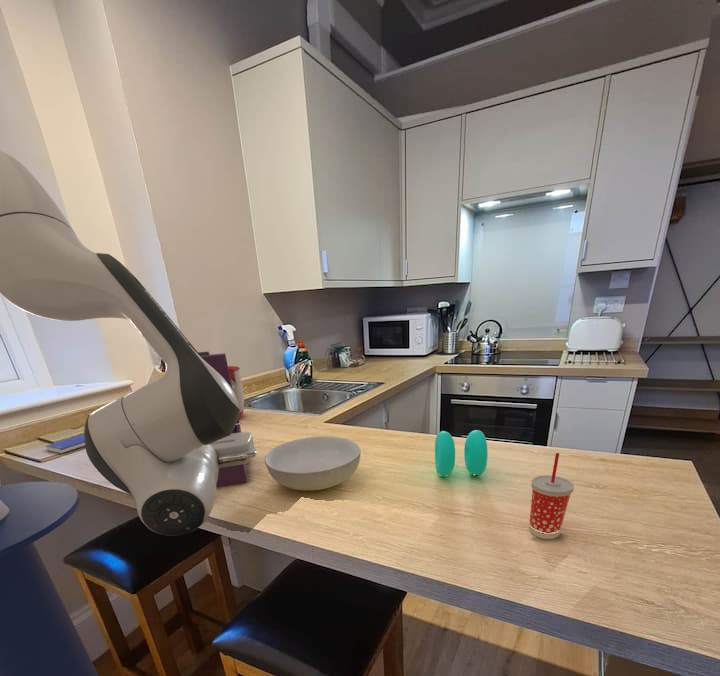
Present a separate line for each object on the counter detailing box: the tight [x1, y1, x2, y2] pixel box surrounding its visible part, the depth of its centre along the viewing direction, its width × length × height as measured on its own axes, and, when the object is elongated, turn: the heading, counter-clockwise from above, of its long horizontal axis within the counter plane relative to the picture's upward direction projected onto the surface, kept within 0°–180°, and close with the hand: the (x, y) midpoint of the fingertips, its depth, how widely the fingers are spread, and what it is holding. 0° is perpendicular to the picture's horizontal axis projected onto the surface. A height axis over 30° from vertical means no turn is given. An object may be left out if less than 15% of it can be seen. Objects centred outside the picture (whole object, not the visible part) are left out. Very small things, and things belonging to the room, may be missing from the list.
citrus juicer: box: [228, 365, 245, 419], centre depth 135 cm, size 16×17×20 cm
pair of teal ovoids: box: [434, 429, 488, 478], centre depth 85 cm, size 10×10×10 cm
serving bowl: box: [264, 436, 362, 492], centre depth 87 cm, size 21×21×7 cm
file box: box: [216, 423, 248, 488], centre depth 94 cm, size 18×14×9 cm
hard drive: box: [45, 433, 85, 454], centre depth 121 cm, size 2×8×12 cm
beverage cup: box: [528, 452, 575, 540], centre depth 62 cm, size 6×6×14 cm
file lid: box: [160, 351, 241, 425], centre depth 95 cm, size 19×14×6 cm
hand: (197, 439), depth 73 cm, fingers closed
